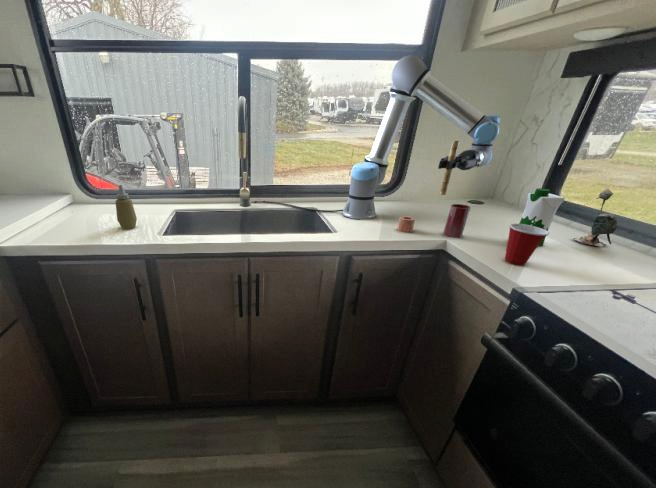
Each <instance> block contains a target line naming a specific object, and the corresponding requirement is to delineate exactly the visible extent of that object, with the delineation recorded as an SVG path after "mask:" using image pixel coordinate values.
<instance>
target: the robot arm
mask: <svg viewBox="0 0 656 488" xmlns="http://www.w3.org/2000/svg"><path fill="white" fill-rule="evenodd" d="M391 82H392V83H391V86H390V88H389V95H390V99H389V102H388V105H387V107H386V109H385V112H384V115H383V117H382V120H381V123H380V126H379V129H378V131H377V134H376V136H375V139H374V141H373V144H372V147H371V149H370V153H369V154H368V155H365V157H364V159H363V162H359V163H355V164H354V165H353V166H352V169H351V173H350V175H351V176H350V182H349V191H348V198H347V201H346V203H345V204H344V208H343V209H334V210H333V209H331V210H328V209H327V210H325V209H324V210H323V209H313V208H309V207H303V206H298V205H294V204H289V203H285V202H278V201H268V200H264V201H261V202H262V203H266V204H276V205H283V206H288V207H292V208H296V209H300V210H306V211H311V212H312V211H313V212H320V213H321V212H322V213H323V212H324V213H337V212H342V216H343V217H345V218H347V219H348V218H349V219H353V220H370V219H374V218H375V217H376V207H375V193H376V189H377V187H379V186H380V185H381V184H382V183H383V181H384V180H385V178H386V174H387V170H388V166H389V164H390V163H389V162H390V161H389V159H388V158H389V156H390V153H391V151H392V148H393V146H394V144H395V141H396V138H397V137H398V134H399V132H400V129H401V126H402V124H403V122H404V119H405V117H406V114H407V112H408V109H409V107H410V105H411V103H412V102H414V101H415V100H416V98H419V99H420V100H421V101H422V102H424V103H425V104H426V105H428V106H430V108H432V109H433V110H435V111H436V112H437V113H439V114H440V115H441V116H443V117H444V118H446V119H447V120H448V121H449V122H451V123H452V124H453V125H455V126H457V128H459V129H460V130H462V131H463V132H464V133H465V134H467V136H469V137H470V138H472V143H471V145H470V148H469V149H466V150H462V151H461V152H460V153H459V154H458V155H456V157H455V160H453V161H448V158H449V155H446V156H444V157H442V158H440V160H439V163H438V167H437V169H438V170H442V169H445V170H449V169H452V170H453V169H459V170H460V171H471V170H472V169H476V168H481V167H483V166H485V165H486V164H487V165H488V163H489V162H490V161H491V160H492V158H493V151H492V149H493V145H494V141H495V140H496V139H497V137H498V136H499V134H500V125H501V119H502V117H501V115H499V114H498V115H497V114H496V115H495V114H494V115H491V114H490V115H489V114H488V115H487V114H483V113H482V112H481V111H479V110H478V109H477V108H475V107H474V106H473V105H471V104H470V103H469V102H467V101H466V100H465V99H463V98H462V96H459V95H458V94H457V93H456V92H454V91H453V90H451V89H450V88H449V87H447V86H446V85H444V84H443V83H442V82H440V81H439V79H436V78H435V77H434V76H432V71H431V70H430V69H429V68H428V67H427V65H426V63H425V61H423V59H421V58H419V57H418V56H416V55H413V54H411V55H410V54H409V55H405V56H403V57H401V58H400V59H398V61H397V62H396V63H395V65H394V66H393V68H392V71H391ZM447 162H448V164H447ZM446 166H447V167H446ZM257 202H259V201H256V200H254V202H253V203H254V204H256V203H257Z"/></svg>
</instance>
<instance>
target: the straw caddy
mask: <svg viewBox="0 0 656 488" xmlns="http://www.w3.org/2000/svg"><path fill="white" fill-rule="evenodd" d="M415 223H416V217H413V216H408V215H404V216H400V217H399V220H398V225H397V231H399V232H401V233H412V232H414V226H415Z"/></svg>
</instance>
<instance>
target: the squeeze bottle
mask: <svg viewBox="0 0 656 488" xmlns="http://www.w3.org/2000/svg"><path fill="white" fill-rule="evenodd" d="M114 201H115V211H116V220H117V222H118V224H119V226H120V228H121V229H123V230H131V229H134V228H136V227H137V220H138V218H137V215H136V214H137V213H136V211H135V207H134V204H133V201H132V199H131V198H129V193H127V192H126V191H125V188H124V187H123V185H122V184H119V185H118V193H117V194H116V200H114Z"/></svg>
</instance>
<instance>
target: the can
mask: <svg viewBox="0 0 656 488" xmlns="http://www.w3.org/2000/svg"><path fill="white" fill-rule="evenodd" d="M471 207H472V206H470V205H467V204H460V203H454V204H453V203H452V204H450V207H449V211H448V213H447V217H446V222H445V225H444V228H443V232H442V235H443V236H444V237H448V238H454V239H455V238H457V239H461V238H462V236H463V234H464V230H465V227H466V224H467V222H468V217H469V214H470V211H471Z"/></svg>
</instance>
